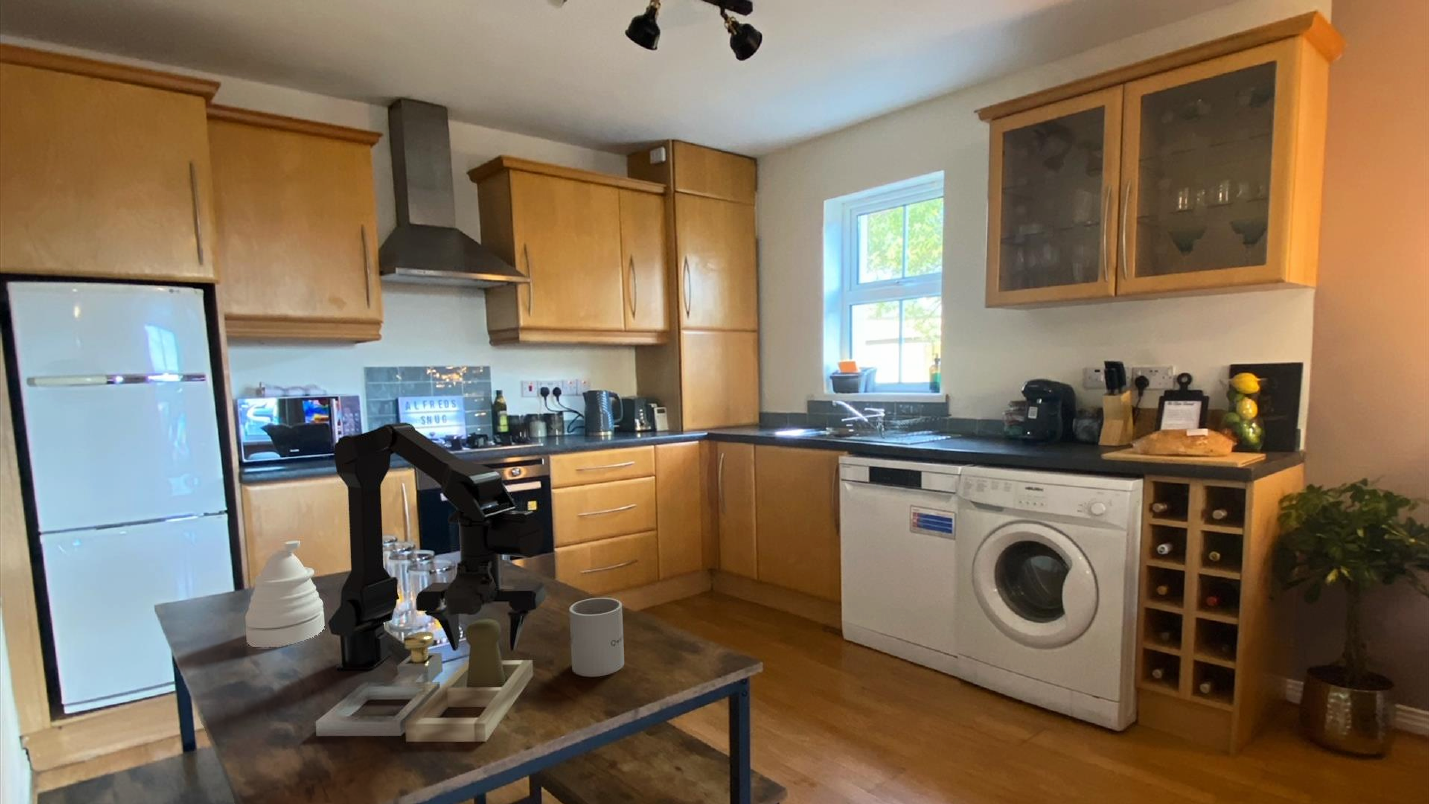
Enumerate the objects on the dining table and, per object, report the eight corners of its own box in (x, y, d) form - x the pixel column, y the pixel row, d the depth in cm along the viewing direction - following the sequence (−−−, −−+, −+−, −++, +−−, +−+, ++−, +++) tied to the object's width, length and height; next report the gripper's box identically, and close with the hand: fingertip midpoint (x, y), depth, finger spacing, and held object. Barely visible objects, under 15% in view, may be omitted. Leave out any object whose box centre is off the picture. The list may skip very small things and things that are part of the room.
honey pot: (330, 619, 143) (325, 532, 142) (316, 642, 131) (310, 547, 130) (258, 628, 139) (252, 539, 138) (237, 653, 127) (230, 555, 126)
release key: (400, 680, 112) (398, 642, 111) (414, 668, 116) (412, 631, 116) (427, 680, 111) (425, 642, 111) (439, 668, 116) (437, 631, 116)
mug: (606, 679, 111) (604, 618, 110) (561, 672, 114) (559, 612, 114) (643, 649, 122) (641, 593, 122) (601, 643, 125) (599, 589, 125)
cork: (494, 702, 104) (490, 630, 104) (457, 699, 106) (454, 628, 105) (513, 683, 110) (510, 615, 110) (479, 681, 112) (475, 614, 111)
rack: (406, 741, 94) (405, 723, 94) (467, 675, 114) (466, 660, 114) (485, 741, 93) (485, 723, 93) (533, 675, 113) (532, 660, 113)
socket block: (316, 735, 96) (315, 714, 96) (393, 671, 117) (392, 653, 116) (400, 735, 96) (399, 714, 95) (463, 670, 116) (462, 652, 116)
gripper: (394, 567, 101) (400, 672, 102) (521, 566, 100) (525, 672, 100) (430, 547, 112) (435, 642, 113) (544, 545, 111) (548, 642, 112)
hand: (484, 649), depth 109 cm, fingers open, 9 cm apart
